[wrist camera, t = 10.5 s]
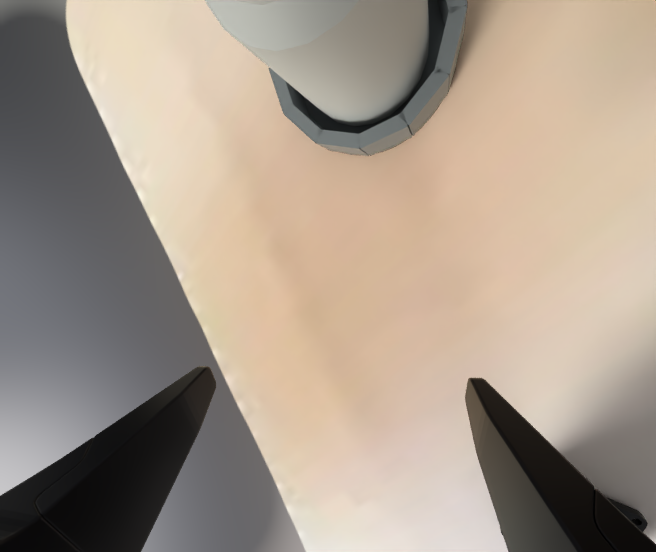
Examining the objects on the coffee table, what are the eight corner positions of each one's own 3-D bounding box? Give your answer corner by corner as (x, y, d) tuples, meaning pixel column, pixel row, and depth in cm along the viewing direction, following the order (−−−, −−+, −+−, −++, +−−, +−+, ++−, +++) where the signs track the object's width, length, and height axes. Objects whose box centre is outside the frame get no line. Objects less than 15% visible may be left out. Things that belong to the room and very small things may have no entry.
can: (319, -3, 18) (132, -334, 7) (444, -16, 16) (455, -546, 5) (307, 127, 20) (148, 27, 9) (415, 133, 18) (375, 8, 7)
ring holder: (486, -50, 15) (496, -107, 12) (430, 165, 18) (428, 157, 15) (305, -34, 18) (281, -76, 16) (284, 145, 21) (262, 136, 19)
